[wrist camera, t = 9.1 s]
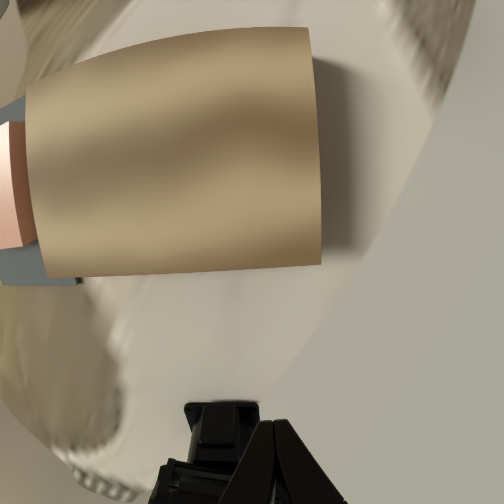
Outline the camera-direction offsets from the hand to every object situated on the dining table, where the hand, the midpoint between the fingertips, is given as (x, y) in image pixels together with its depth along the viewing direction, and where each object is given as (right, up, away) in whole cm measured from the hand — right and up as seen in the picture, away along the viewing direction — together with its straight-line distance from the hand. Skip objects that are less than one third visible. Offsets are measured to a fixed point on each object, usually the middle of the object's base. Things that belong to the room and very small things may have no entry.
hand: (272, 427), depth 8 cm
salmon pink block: (-20, +10, +7) cm, 23 cm away
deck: (-6, +11, +9) cm, 15 cm away
